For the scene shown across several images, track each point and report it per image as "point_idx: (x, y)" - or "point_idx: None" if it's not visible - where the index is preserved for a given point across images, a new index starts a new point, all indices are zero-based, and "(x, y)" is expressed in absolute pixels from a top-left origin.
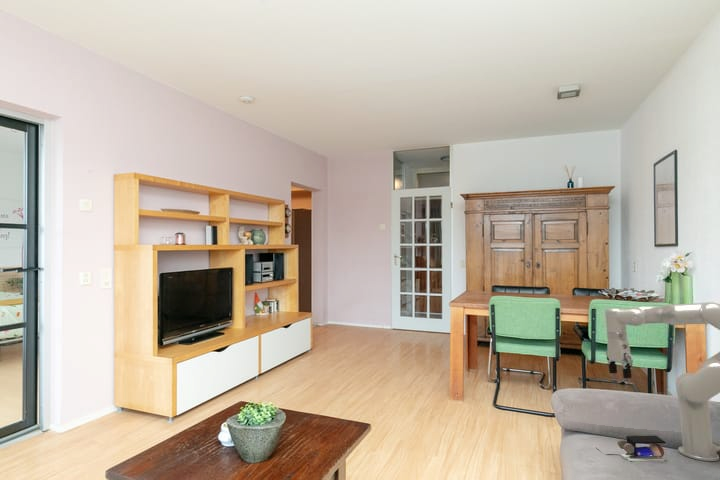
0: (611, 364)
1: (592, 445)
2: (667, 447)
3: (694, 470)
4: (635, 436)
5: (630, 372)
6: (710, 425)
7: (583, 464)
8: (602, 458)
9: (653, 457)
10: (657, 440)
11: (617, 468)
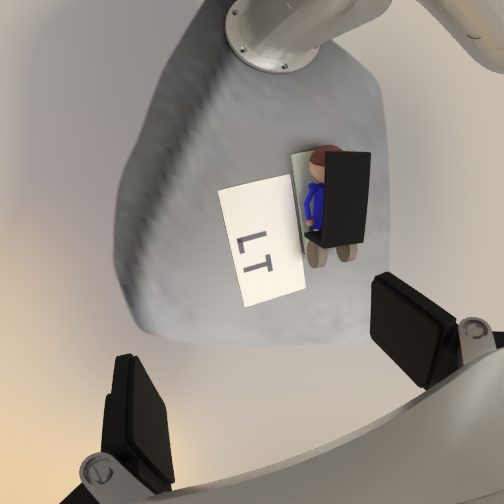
0: (160, 478)
1: (245, 306)
2: (219, 82)
3: (372, 111)
4: (329, 222)
5: (423, 301)
6: None
7: (351, 335)
8: (324, 297)
9: None
10: (361, 169)
11: (370, 279)
